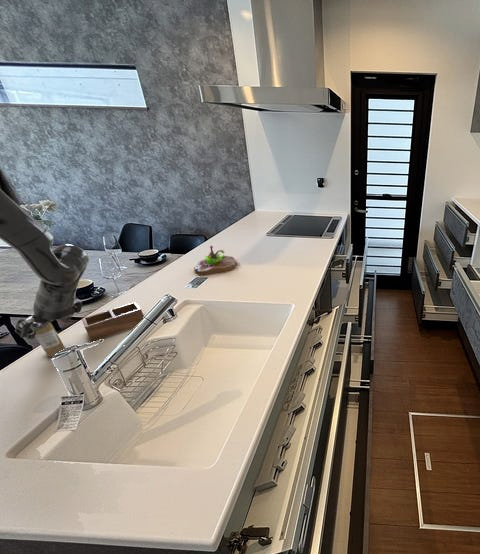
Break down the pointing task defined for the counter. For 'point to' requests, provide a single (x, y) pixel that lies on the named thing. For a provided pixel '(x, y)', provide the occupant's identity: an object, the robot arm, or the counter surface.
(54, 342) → the sprinkles bottle
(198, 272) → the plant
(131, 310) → the spice rack
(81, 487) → the counter surface
